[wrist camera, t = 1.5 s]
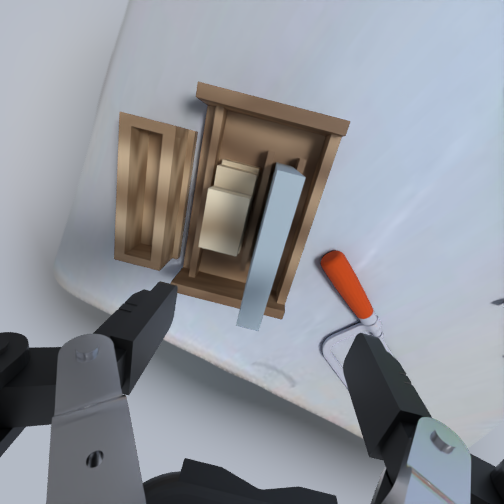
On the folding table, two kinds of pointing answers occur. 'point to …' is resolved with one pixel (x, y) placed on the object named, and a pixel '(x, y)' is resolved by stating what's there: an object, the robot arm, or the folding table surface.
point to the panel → (270, 243)
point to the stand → (152, 190)
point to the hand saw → (356, 300)
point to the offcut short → (224, 220)
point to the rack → (265, 157)
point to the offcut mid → (236, 181)
